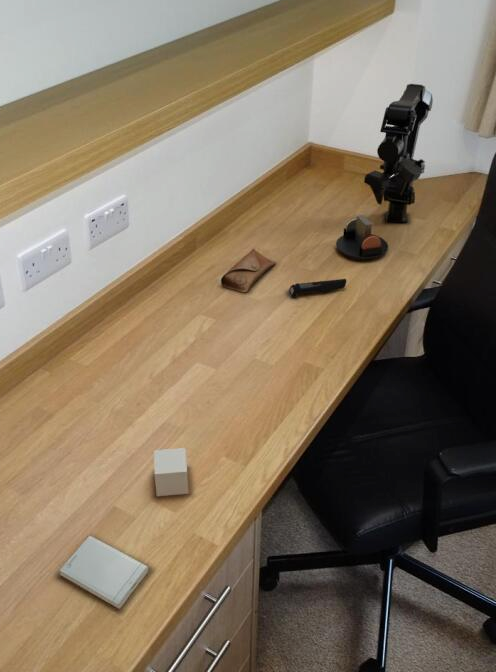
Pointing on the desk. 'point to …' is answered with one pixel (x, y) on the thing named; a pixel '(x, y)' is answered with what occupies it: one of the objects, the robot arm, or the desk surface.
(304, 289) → the electric trimmer
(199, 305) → the desk surface
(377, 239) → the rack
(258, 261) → the sunglasses case
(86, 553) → the hard drive
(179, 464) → the light grey cube
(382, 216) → the desk surface
